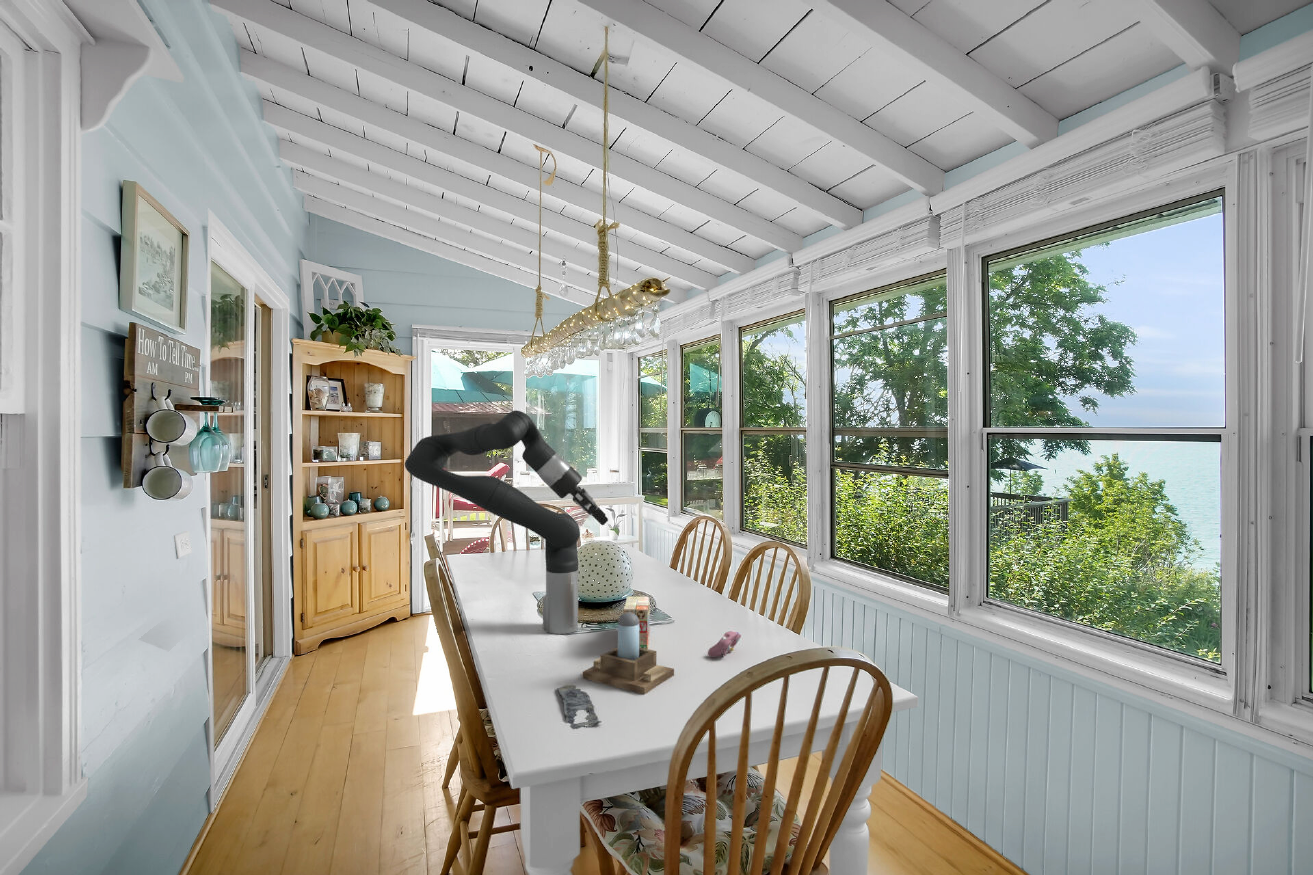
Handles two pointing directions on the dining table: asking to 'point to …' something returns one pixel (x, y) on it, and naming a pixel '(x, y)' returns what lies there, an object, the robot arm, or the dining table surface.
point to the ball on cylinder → (628, 636)
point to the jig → (629, 671)
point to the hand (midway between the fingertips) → (604, 520)
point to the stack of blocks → (640, 617)
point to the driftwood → (577, 706)
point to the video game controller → (725, 644)
